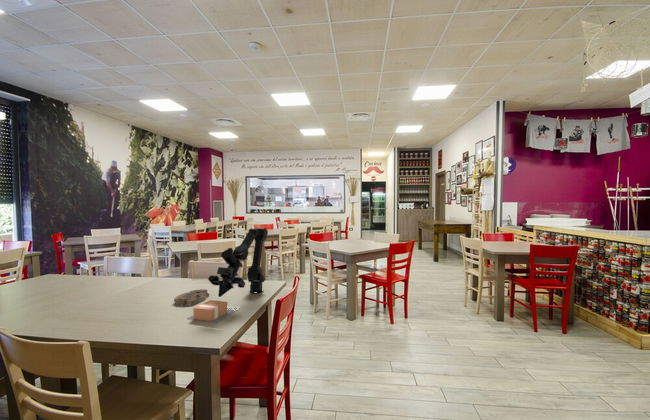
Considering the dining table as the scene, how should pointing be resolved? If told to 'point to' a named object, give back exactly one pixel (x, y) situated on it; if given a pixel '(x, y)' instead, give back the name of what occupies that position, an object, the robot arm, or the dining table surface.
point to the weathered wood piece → (191, 297)
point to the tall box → (210, 310)
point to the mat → (218, 317)
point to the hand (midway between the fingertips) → (219, 296)
